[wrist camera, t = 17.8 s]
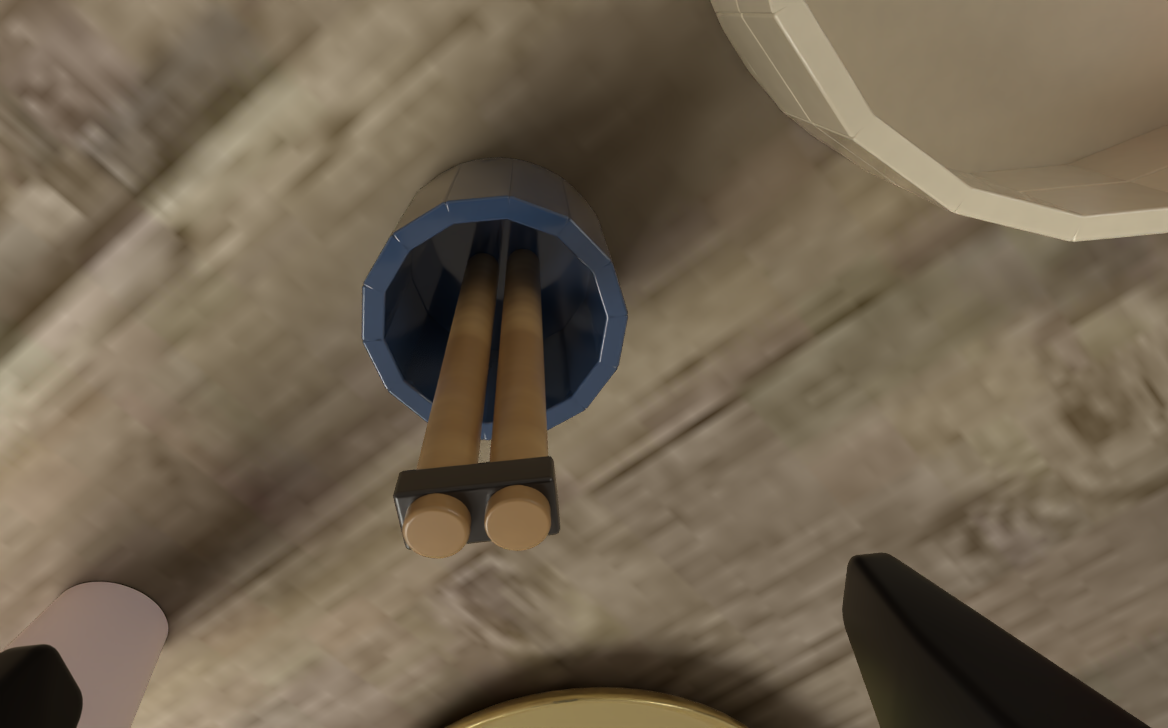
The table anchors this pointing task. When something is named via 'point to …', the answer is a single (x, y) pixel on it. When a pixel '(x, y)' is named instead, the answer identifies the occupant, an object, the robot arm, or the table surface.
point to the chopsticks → (452, 439)
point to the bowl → (981, 101)
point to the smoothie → (103, 647)
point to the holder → (498, 227)
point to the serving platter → (598, 711)
